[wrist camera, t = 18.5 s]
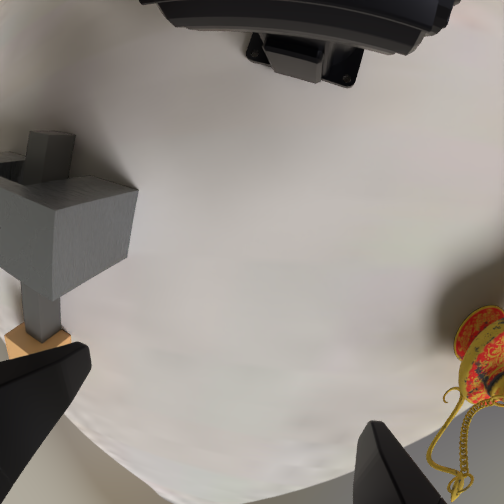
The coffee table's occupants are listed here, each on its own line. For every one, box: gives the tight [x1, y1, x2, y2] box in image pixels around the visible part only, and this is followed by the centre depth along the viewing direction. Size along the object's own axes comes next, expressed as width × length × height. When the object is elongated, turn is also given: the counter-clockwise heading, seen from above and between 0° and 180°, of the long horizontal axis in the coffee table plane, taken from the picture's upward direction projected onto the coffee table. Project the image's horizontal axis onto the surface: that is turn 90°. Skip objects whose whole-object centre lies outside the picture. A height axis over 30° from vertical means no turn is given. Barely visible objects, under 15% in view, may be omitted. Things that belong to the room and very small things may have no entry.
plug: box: [4, 131, 76, 360], centre depth 21 cm, size 24×5×5 cm, turn 163°
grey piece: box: [0, 152, 139, 302], centre depth 18 cm, size 5×16×8 cm, turn 73°
